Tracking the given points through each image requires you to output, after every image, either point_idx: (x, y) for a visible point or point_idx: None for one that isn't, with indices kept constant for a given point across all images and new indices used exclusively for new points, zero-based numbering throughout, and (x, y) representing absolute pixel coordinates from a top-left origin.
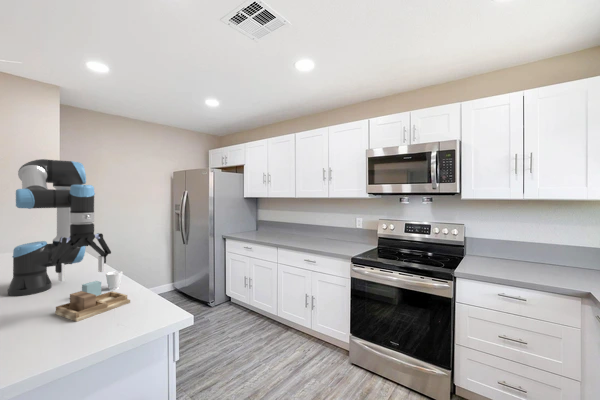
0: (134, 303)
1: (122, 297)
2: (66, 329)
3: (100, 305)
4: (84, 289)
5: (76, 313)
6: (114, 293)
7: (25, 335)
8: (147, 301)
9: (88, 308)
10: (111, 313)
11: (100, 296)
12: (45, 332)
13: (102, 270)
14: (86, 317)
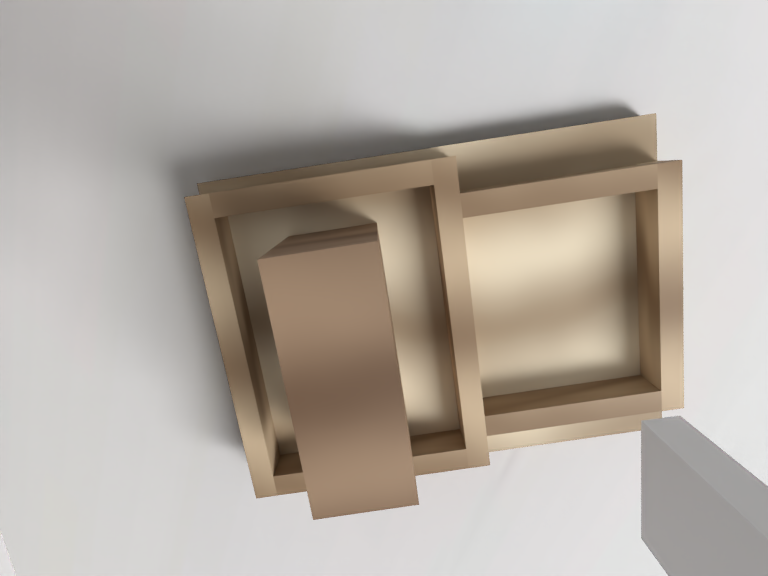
0: None
1: (633, 411)
2: (200, 535)
3: (432, 471)
4: None
5: (260, 495)
6: (656, 249)
7: (14, 436)
8: None
9: None
10: (464, 508)
11: (547, 203)
12: (105, 484)
13: (672, 565)
14: None
